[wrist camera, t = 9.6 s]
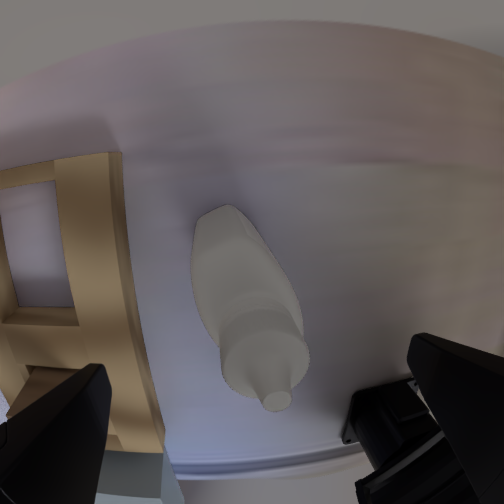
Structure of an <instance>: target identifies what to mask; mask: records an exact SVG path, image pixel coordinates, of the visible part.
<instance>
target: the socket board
mask: <svg viewBox="0 0 504 504" xmlns="http://www.w3.org/2000/svg"><path fill="white" fill-rule="evenodd" d="M52 180H55V184H56V196H57V206H58V215H59V223H60V230H61V237H62V244H63V250H64V256H65V262H66V267H67V273H68V278H69V283H70V288H71V292H72V297H73V301H74V305H75V307H19V305H18V301H17V297H16V294H15V290H14V286H13V282H12V277H11V273H10V268H9V264H8V259H7V254H6V249H5V243H4V237H3V231H2V224H1V217H0V389H1V391H2V393H3V395H4V397H5V399H6V400H7V402H8V404H9V406H10V407H11V405H12V404H13V402H14V400H15V399H16V397H17V396H18V394H19V392H20V391H21V389H22V388H23V386H24V384H25V383H26V381H27V380H28V378H29V377H30V375H31V374H32V372H33V371H34V369H35V368H36V366H45V367H57V368H72V369H82V368H83V367H85V366H86V365H88V364H89V363H102V364H103V365H104V366H105V368H106V371H107V374H108V377H109V380H110V384H111V387H112V399H111V407H110V416H109V426H108V435H107V441H106V447H105V450H112V451H125V452H142V453H163V452H164V440H165V426H164V423H163V419H162V416H161V412H160V408H159V404H158V401H157V397H156V393H155V389H154V385H153V381H152V376H151V372H150V368H149V363H148V359H147V354H146V349H145V344H144V339H143V334H142V329H141V324H140V318H139V313H138V307H137V301H136V295H135V288H134V282H133V275H132V268H131V260H130V252H129V244H128V235H127V225H126V215H125V203H124V190H123V173H122V153H121V152H104V153H97V154H89V155H82V156H76V157H69V158H63V159H57V160H51V161H46V162H40V163H35V164H30V165H25V166H20V167H16V168H11V169H6V170H2V171H0V189H5V188H11V187H16V186H21V185H27V184H33V183H39V182H45V181H52Z"/></svg>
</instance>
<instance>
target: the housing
mask: <svg viewBox="0 0 504 504" xmlns="http://www.w3.org/2000/svg"><path fill="white" fill-rule="evenodd" d="M95 504H184V497H183V494H182V492H181V489H180V487H179V484H178V482H177V479H176V476H175V474H174V471H173V468H172V466H171V463H170V460H169V457H168V454H167V451H166V448H165V445H164V452H163V453H142V452H125V451H112V450H105V451H104V456H103V461H102V466H101V471H100V476H99V481H98V487H97V493H96V498H95Z"/></svg>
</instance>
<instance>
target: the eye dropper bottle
mask: <svg viewBox="0 0 504 504" xmlns="http://www.w3.org/2000/svg"><path fill="white" fill-rule="evenodd" d="M191 280H192V288H193V293H194V298H195V302H196V305H197V308H198V312H199V314H200V317H201V319H202V321H203V323H204V325H205V327H206V329H207V331H208V333H209V334H210V336H211V337H212V339H213V340H214V342H215V343H216V344H217V345H218V347H219V348H220V358H221V369H222V375H223V378H224V379H225V381H226V382H227V384H228V385H229V386H230V388H232V390H234V391H235V392H237V393H239V394H241V395H243V396H246V397H250V398H257V399H259V400H260V402H261V403H262V405H263V407H264V408H265V409H266V410H268V411H271V412H278V411H282V410H284V409H286V408H287V407H288V406H289V405H290V404H291V402H292V392H291V389H292V388H294V387H295V386H296V385H297V384H298V383H299V382H300V381H301V380H302V379H303V378H304V376H305V375H306V372H307V369H308V368H309V364H310V363H309V362H310V355H309V354H310V352H309V349H308V347H307V344H306V342H305V340H304V338H303V337H304V328H303V318H302V313H301V308H300V305H299V302H298V299H297V296H296V294H295V291H294V289H293V287H292V285H291V283H290V281H289V280H288V278H287V276H286V275H285V273H284V271H283V270H282V268H281V267H280V265H279V263H278V262H277V260H276V259H275V257H274V256H273V254H272V253H271V251H270V250H269V248H268V247H267V245H266V244H265V242H264V241H263V239H262V238H261V236H260V235H259V233H258V232H257V230H256V229H255V227H254V226H253V225H252V223H251V222H250V221H249V220H248V219H247V218H246V217H245V215H244V214H242V213H241V212H240V211H239V210H238V209H237V208H235V207H234V206H231V205H223V206H221V207H219V208H217V209H215V210H213V211H211V212H209V213H207V214H205V215H203V216H201V217H200V218H199V219H198V220H197V224H196V228H195V234H194V240H193V247H192V253H191Z"/></svg>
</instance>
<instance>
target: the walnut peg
mask: <svg viewBox="0 0 504 504" xmlns="http://www.w3.org/2000/svg"><path fill="white" fill-rule="evenodd" d="M79 370H80V369H72V368H57V367H45V366H36V368H35V369H34V371H33V372H32V374H31V375H30V377H29V378H28V380H27V381H26V383H25V384H24V386H23V388H22V389H21V391H20V392H19V394H18V396H17V397H16V399H15V400H14V402H13V404H12V405H11V407H10V409H9V410H8V412H7V414H6V417H7V418H8V419H10V418H11V417H12V416H14V415H15V414H17V413H18V412H20V411H21V410H23V409H24V408H25V407H27V406H28V405H30V404H31V403H33V402H34V401H36V400H37V399H38V398H40V397H41V396H43V395H44V394H46V393H47V392H49V391H50V390H51V389H53V388H54V387H56V386H57V385H59V384H60V383H62V382H63V381H64V380H66V379H67V378H69V377H70V376H72V375H73V374H75V373H76V372H77V371H79Z"/></svg>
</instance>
